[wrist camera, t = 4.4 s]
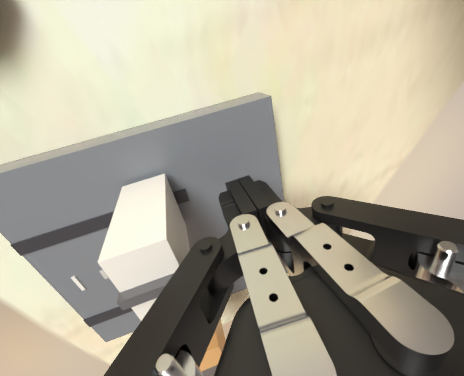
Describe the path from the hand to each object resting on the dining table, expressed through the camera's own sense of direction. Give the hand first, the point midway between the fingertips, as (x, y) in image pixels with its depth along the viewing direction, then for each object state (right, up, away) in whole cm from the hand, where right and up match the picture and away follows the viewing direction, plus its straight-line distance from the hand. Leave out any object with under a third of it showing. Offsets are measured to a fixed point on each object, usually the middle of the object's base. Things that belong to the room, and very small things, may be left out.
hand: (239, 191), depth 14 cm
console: (-5, -3, +4) cm, 7 cm away
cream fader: (-5, -1, 0) cm, 5 cm away
